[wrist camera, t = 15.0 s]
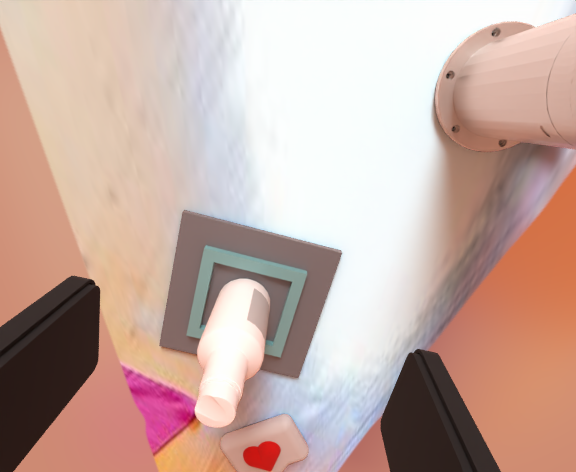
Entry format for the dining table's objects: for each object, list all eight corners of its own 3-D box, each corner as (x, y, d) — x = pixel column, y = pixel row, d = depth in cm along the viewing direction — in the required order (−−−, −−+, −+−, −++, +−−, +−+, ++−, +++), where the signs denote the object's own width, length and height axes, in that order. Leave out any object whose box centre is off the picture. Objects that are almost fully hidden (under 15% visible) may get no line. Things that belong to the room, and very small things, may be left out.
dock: (341, 250, 44) (342, 256, 43) (298, 373, 51) (298, 382, 49) (184, 209, 43) (180, 214, 41) (161, 342, 49) (156, 350, 48)
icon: (244, 500, 54) (212, 457, 51) (247, 473, 58) (218, 431, 55) (316, 478, 52) (288, 431, 49) (315, 451, 56) (289, 407, 53)
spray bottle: (245, 331, 48) (218, 454, 31) (207, 299, 46) (157, 411, 29) (281, 301, 46) (273, 414, 29) (243, 267, 44) (211, 365, 27)
